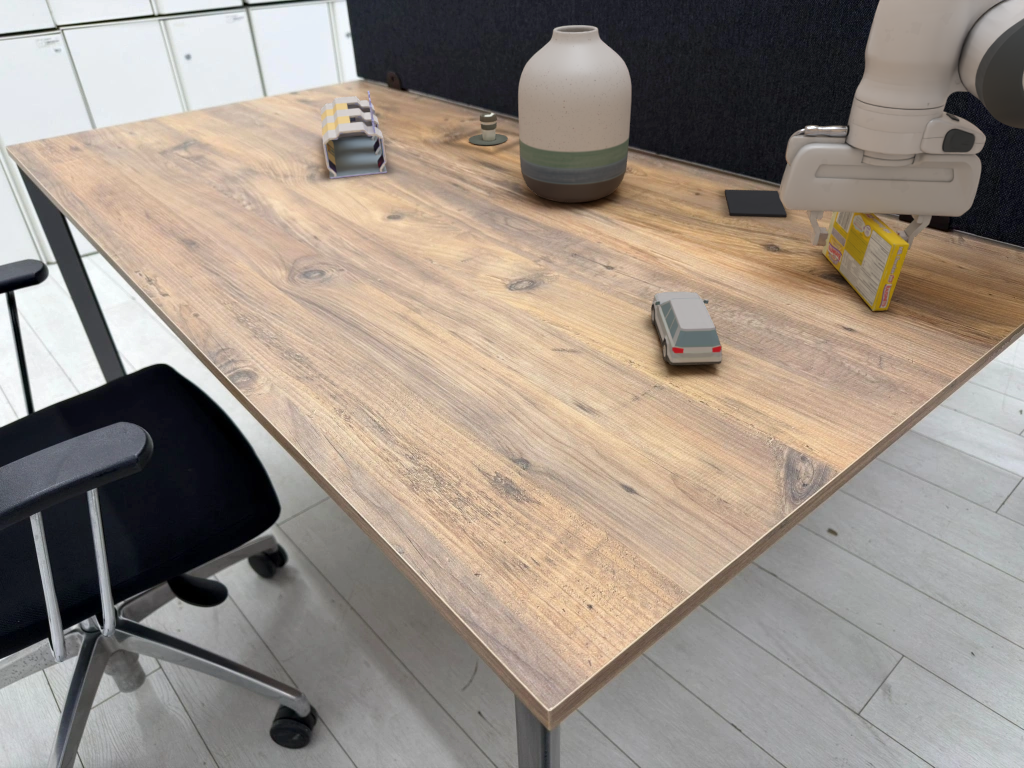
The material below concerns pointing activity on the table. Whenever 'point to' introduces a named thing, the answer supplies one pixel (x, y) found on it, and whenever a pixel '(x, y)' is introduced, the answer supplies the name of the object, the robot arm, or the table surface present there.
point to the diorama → (352, 138)
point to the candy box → (866, 255)
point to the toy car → (685, 329)
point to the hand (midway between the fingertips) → (858, 246)
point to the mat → (755, 203)
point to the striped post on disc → (488, 131)
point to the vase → (574, 117)
